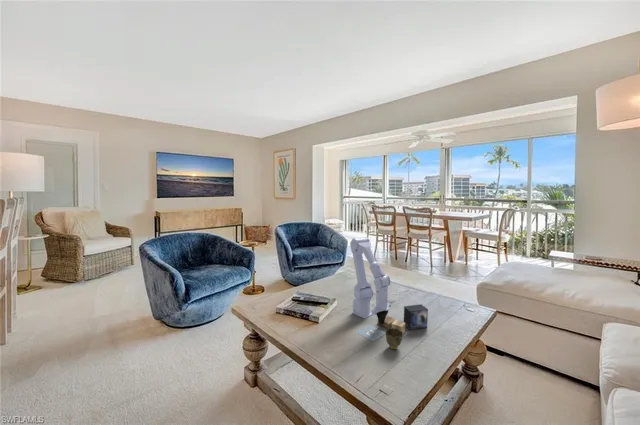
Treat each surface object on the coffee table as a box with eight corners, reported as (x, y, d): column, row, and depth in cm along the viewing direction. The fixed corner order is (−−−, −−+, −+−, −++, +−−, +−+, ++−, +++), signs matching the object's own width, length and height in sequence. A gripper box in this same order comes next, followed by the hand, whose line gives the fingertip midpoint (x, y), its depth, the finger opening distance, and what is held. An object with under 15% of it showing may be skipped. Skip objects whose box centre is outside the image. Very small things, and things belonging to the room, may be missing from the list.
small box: (409, 331, 140) (410, 311, 139) (402, 324, 146) (403, 305, 145) (427, 328, 142) (428, 309, 141) (420, 322, 149) (421, 303, 148)
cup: (389, 341, 131) (389, 325, 130) (404, 347, 126) (405, 330, 125) (382, 348, 125) (382, 332, 124) (397, 355, 120) (398, 337, 119)
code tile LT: (355, 332, 139) (355, 332, 139) (368, 325, 146) (368, 324, 146) (373, 341, 131) (373, 341, 131) (386, 333, 138) (386, 332, 138)
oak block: (391, 333, 138) (391, 323, 137) (395, 328, 142) (395, 319, 141) (401, 336, 135) (401, 326, 134) (405, 332, 139) (405, 322, 138)
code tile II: (387, 332, 138) (387, 332, 138) (395, 327, 144) (395, 326, 144) (401, 339, 133) (401, 338, 133) (409, 333, 138) (409, 332, 138)
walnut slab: (377, 324, 147) (377, 319, 147) (385, 320, 152) (385, 314, 152) (388, 329, 142) (388, 323, 142) (396, 324, 147) (396, 319, 147)
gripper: (380, 305, 135) (379, 331, 136) (396, 296, 145) (395, 321, 146) (368, 300, 140) (368, 326, 142) (384, 293, 150) (384, 316, 151)
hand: (381, 323), depth 144 cm, fingers closed
